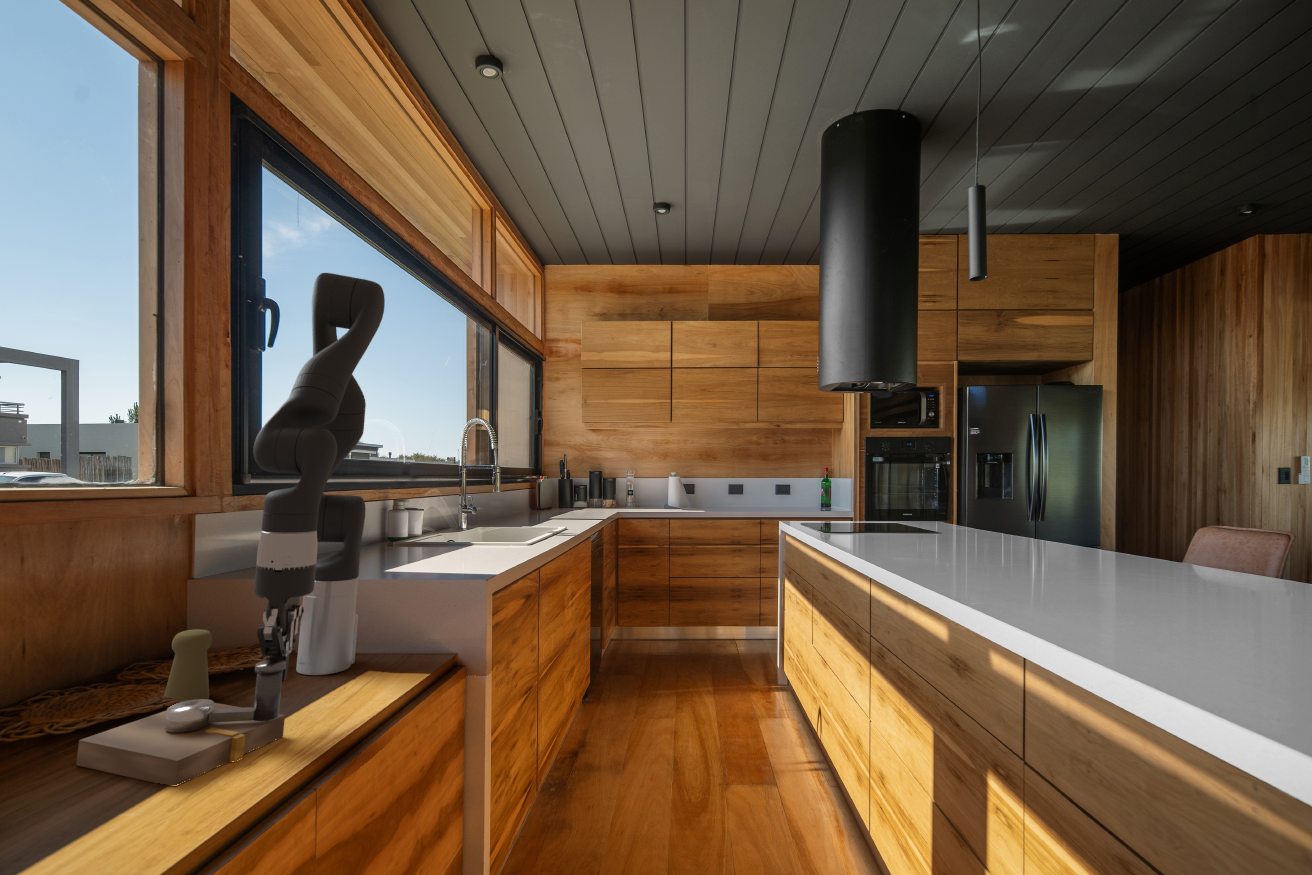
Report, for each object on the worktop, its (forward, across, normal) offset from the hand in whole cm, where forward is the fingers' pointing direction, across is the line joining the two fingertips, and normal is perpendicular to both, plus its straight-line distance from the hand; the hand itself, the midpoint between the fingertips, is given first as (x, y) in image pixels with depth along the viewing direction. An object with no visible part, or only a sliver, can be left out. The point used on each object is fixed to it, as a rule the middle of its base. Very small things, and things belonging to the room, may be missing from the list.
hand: (276, 681), depth 87 cm
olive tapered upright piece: (+8, -15, -17) cm, 24 cm away
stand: (+7, +5, -9) cm, 12 cm away
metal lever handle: (+4, +5, -5) cm, 7 cm away
